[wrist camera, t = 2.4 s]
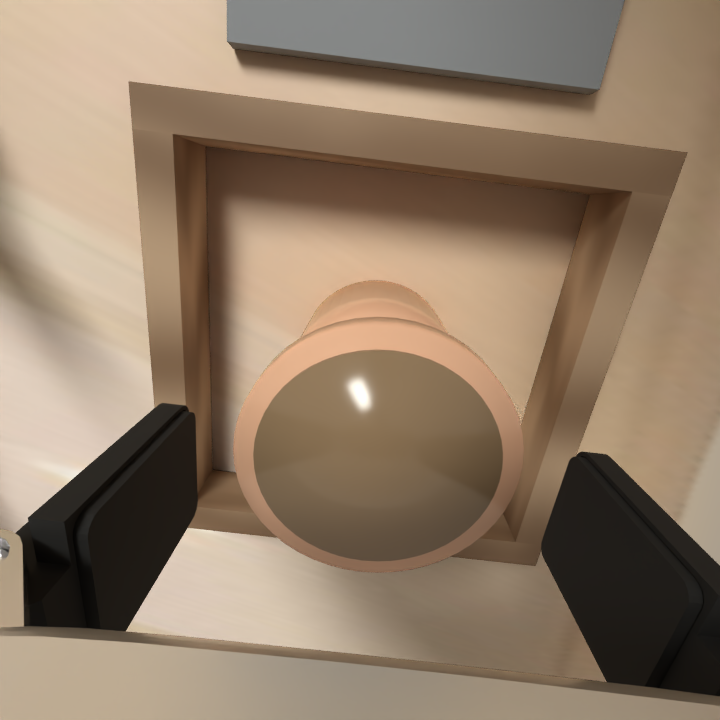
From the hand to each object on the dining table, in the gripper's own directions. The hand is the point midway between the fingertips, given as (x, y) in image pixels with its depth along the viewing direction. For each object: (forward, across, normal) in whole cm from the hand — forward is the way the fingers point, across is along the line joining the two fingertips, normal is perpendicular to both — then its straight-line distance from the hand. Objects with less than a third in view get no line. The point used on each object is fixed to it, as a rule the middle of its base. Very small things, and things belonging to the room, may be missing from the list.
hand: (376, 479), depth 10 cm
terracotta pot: (+8, 0, -1) cm, 8 cm away
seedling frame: (+8, 0, -1) cm, 8 cm away
